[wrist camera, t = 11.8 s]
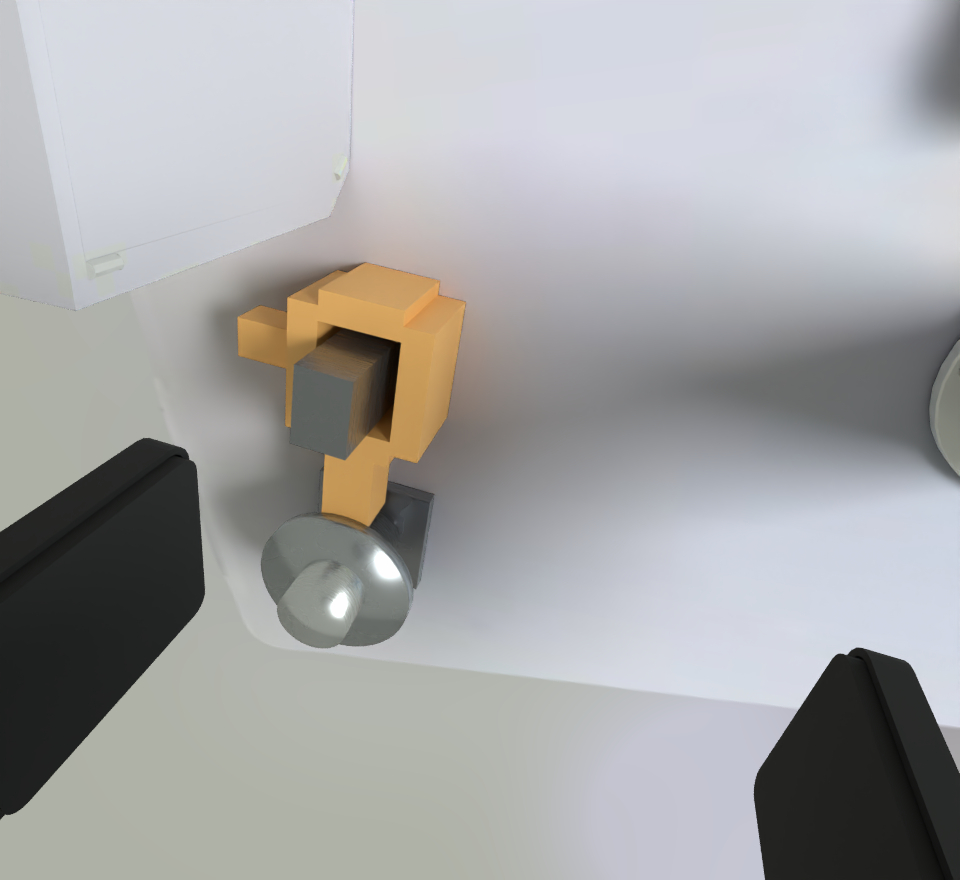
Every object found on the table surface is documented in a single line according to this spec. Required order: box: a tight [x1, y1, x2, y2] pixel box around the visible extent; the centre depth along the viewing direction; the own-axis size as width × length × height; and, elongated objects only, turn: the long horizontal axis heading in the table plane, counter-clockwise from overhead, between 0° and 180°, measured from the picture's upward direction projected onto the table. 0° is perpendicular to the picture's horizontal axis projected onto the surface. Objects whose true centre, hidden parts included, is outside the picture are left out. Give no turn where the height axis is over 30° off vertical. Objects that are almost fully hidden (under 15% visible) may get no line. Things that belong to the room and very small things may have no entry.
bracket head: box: [237, 263, 466, 527], centre depth 38 cm, size 12×14×6 cm
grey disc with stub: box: [261, 467, 434, 648], centre depth 42 cm, size 10×10×10 cm
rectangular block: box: [290, 328, 401, 460], centre depth 35 cm, size 3×4×10 cm
